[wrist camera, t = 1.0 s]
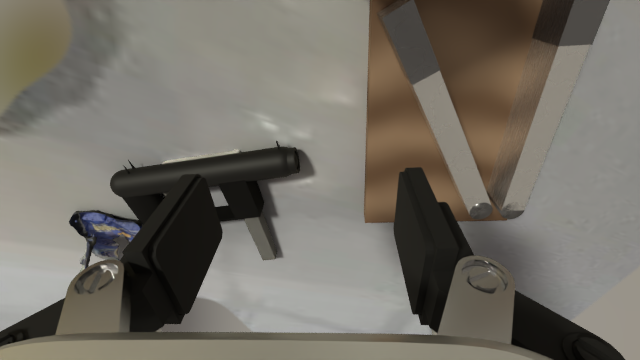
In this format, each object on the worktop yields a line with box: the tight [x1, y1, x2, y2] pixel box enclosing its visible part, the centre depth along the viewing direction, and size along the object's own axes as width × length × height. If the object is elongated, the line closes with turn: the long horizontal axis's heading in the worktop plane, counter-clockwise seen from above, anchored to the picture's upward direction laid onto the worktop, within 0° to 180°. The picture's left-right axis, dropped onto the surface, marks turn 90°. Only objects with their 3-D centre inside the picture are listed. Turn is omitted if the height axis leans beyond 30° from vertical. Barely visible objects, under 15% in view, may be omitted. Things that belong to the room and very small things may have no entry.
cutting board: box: [364, 0, 543, 223], centre depth 27 cm, size 25×15×2 cm, turn 3°
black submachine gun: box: [110, 141, 300, 260], centre depth 34 cm, size 3×20×16 cm
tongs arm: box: [377, 0, 493, 220], centre depth 25 cm, size 20×2×3 cm, turn 31°
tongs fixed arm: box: [486, 0, 610, 219], centre depth 24 cm, size 20×2×3 cm, turn 3°
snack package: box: [69, 210, 142, 272], centre depth 37 cm, size 12×6×12 cm
